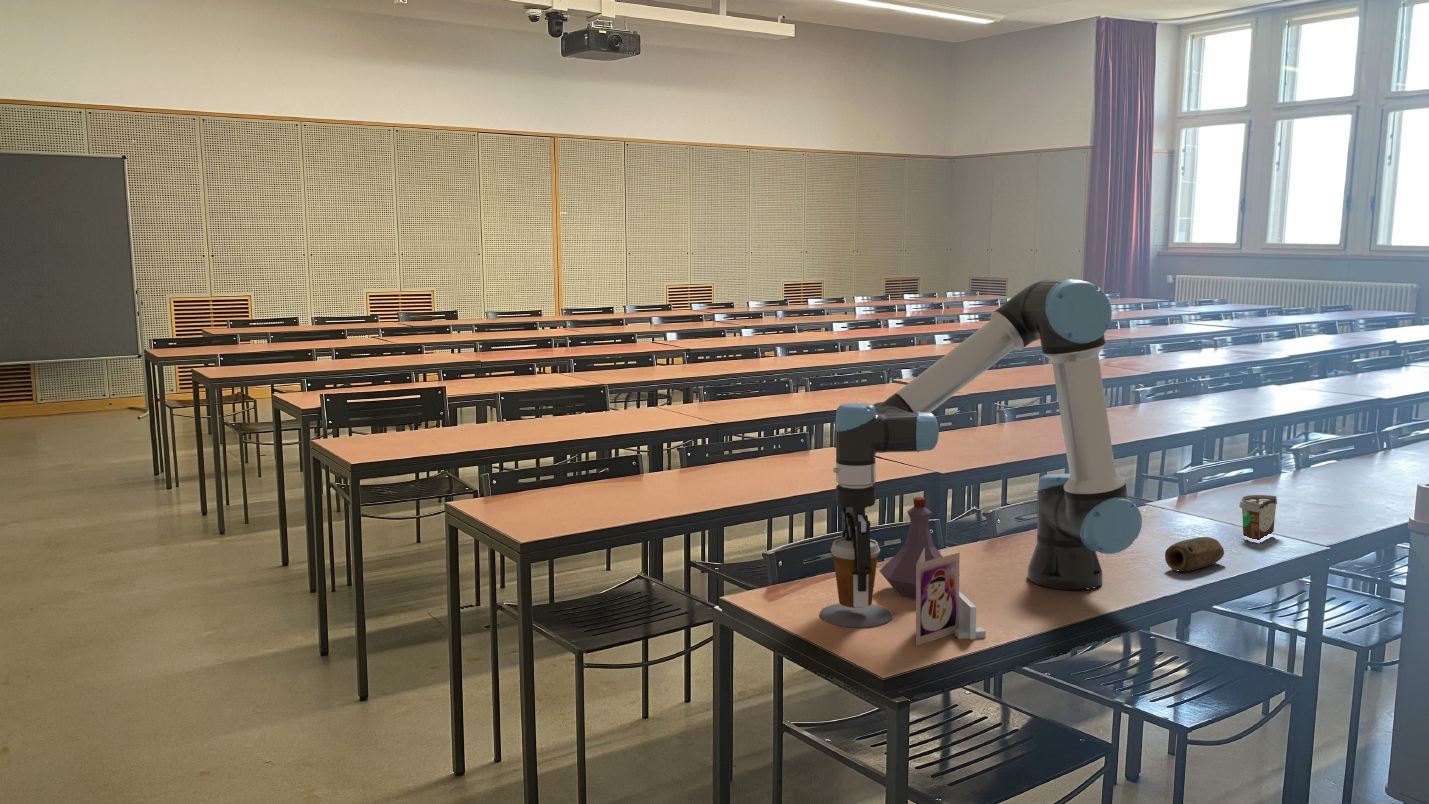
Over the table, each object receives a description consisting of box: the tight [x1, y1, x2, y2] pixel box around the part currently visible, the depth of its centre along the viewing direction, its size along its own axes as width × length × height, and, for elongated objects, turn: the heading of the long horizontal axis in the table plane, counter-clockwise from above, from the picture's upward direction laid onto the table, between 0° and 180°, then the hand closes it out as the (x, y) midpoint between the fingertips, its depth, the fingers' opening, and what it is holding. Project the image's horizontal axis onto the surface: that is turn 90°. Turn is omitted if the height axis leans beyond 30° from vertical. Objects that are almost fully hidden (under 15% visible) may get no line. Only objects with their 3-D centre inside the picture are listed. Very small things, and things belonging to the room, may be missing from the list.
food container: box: [1238, 494, 1278, 540], centre depth 243 cm, size 12×6×10 cm, turn 133°
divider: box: [954, 590, 987, 640], centre depth 188 cm, size 5×17×6 cm, turn 5°
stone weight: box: [1164, 536, 1225, 572], centre depth 221 cm, size 15×7×7 cm, turn 128°
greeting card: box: [915, 548, 961, 646], centre depth 182 cm, size 11×7×15 cm, turn 126°
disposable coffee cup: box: [830, 537, 881, 608], centre depth 193 cm, size 10×10×12 cm
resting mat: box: [819, 603, 893, 629], centre depth 194 cm, size 14×14×1 cm
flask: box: [879, 496, 961, 601], centre depth 206 cm, size 16×16×20 cm
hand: (855, 599), depth 194 cm, fingers closed on disposable coffee cup, 8 cm apart
